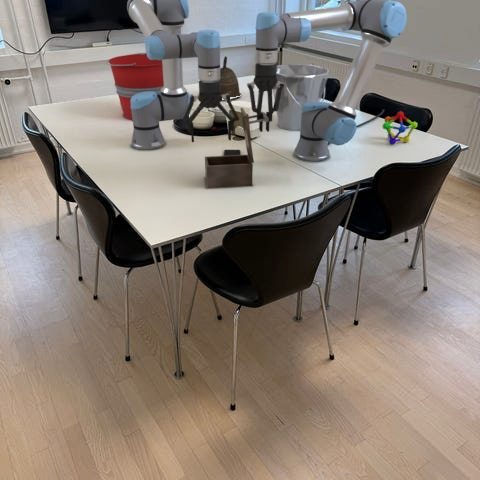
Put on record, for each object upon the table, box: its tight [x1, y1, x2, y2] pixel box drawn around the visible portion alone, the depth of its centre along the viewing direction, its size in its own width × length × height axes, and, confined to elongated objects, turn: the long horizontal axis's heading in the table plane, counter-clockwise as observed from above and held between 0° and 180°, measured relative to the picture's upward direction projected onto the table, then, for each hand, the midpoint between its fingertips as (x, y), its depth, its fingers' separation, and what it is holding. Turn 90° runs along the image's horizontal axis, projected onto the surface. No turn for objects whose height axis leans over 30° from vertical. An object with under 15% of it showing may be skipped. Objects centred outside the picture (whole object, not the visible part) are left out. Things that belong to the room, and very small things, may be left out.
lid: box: [240, 107, 269, 164], centre depth 164 cm, size 18×10×9 cm
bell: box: [219, 56, 242, 97], centre depth 278 cm, size 19×26×20 cm
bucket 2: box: [272, 63, 330, 131], centre depth 226 cm, size 30×30×28 cm
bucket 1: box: [105, 52, 164, 121], centre depth 241 cm, size 35×35×30 cm
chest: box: [204, 154, 254, 189], centre depth 170 cm, size 17×10×9 cm, turn 98°
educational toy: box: [382, 110, 418, 145], centre depth 207 cm, size 16×13×15 cm
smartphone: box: [223, 149, 241, 156], centre depth 194 cm, size 7×1×15 cm
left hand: (211, 140), depth 163 cm, fingers open, 13 cm apart
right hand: (264, 130), depth 164 cm, fingers closed on lid, 2 cm apart
